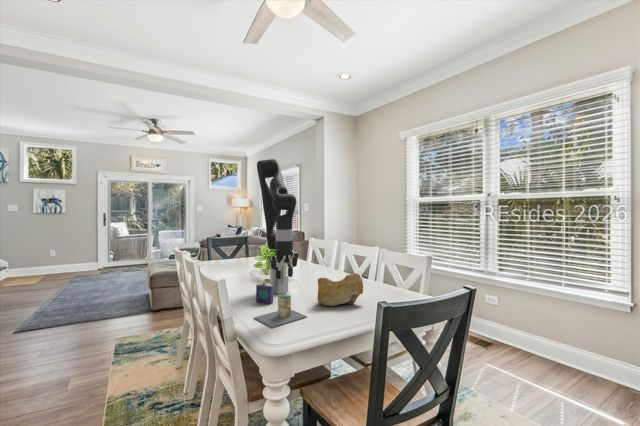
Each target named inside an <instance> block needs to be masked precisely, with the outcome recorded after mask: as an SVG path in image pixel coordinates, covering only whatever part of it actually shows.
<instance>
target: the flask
mask: <svg viewBox="0 0 640 426" xmlns="http://www.w3.org/2000/svg"><path fill="white" fill-rule="evenodd" d="M255 287H256V288H255V289H256V290H255V296H256V297H255V303H256V304H264V305H265V304H267V305H271V304H274V294H273V285H270V284H267V281H262V283H258V284H256V286H255Z"/></svg>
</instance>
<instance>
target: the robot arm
mask: <svg viewBox="0 0 640 426" xmlns="http://www.w3.org/2000/svg"><path fill="white" fill-rule="evenodd" d="M256 170H257V175H258V181H259V186H260V190H261V191H260V192H261V199H262V209H263V214H264V220H265V227H266V228H265V229H266V243H267V247H268V250H271V251H276V252H275V254H274V255H270V256H269V267H270V271H269V272H270V273H269V275H270V277H269V281H270V283H269V285H273V295H281V294H287V292H289V278H291V277H293V275H294V268H295V267H297V265H298V260H299V259H298V258H299V253H298V252H293V249H294V233H293V219H294V213H295V211H296V206H297V198H296V196H295V195H294V194H292V193H288V191H289V190H288V189H287V187H286V184H285V182H284V179H283V174H282V172H281V171H282V170H281V168H280V164H279V162H278V160H277V159H275V158H272V159H271V158H270V159H263V160H262V159H261V160H258V161H257V163H256ZM271 178H272V179H271ZM266 179H271V180H270V183H269V185H268V183H267V181H266ZM282 211H286V212H285V213H284V214H281V213H282ZM275 229H276V230H275ZM274 231H275V232H274ZM287 267H288V268H287Z"/></svg>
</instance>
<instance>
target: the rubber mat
mask: <svg viewBox="0 0 640 426" xmlns="http://www.w3.org/2000/svg"><path fill="white" fill-rule="evenodd" d="M253 318H254V320H255V321H257V322H259V323H261V324H263V325H265V326H267V327H268V328H270V329H274V328H278V327H281V326H284V325H288V324H290V323H293V322H296V321H301V320H303V319H306V318H308V316H307V315H305V314H302V313H300V312H298V311H295V310H293V309H291V316H288V317H285V318H282V317H280V316H278V310H277V311H273V312H268V313H265V314H261V315H258V316H254V317H253Z"/></svg>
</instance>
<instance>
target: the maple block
mask: <svg viewBox="0 0 640 426" xmlns="http://www.w3.org/2000/svg"><path fill="white" fill-rule="evenodd" d="M291 298H292V296H291V295H290V294H288V293H283V294H277V311H278V316H280V317H282V318H285V317H288V316H291V310H292V306H291V305H292V302H291V301H292V299H291Z"/></svg>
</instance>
